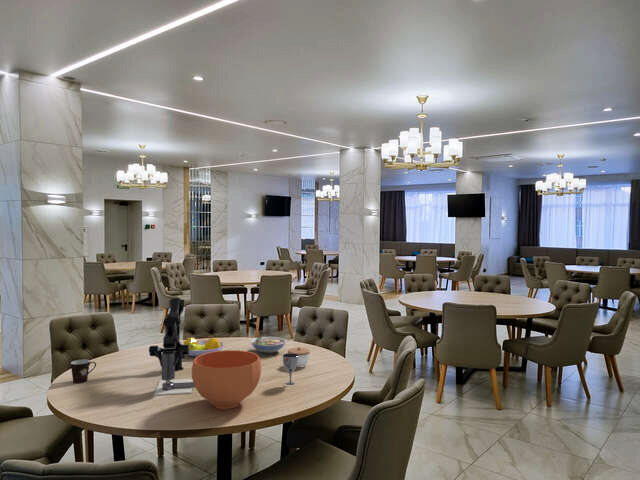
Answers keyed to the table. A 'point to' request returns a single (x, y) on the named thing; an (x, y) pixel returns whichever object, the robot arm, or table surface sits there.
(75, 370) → the coffee mug
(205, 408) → the table surface
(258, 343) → the ramen bowl
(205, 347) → the fruit bowl
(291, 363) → the wine glass
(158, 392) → the hinge base
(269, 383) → the table surface
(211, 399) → the flowerpot
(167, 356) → the loose hinge half
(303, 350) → the lidded bowl
